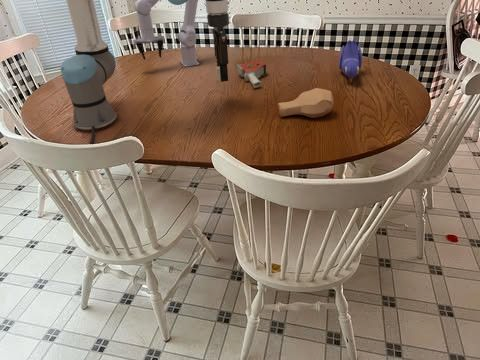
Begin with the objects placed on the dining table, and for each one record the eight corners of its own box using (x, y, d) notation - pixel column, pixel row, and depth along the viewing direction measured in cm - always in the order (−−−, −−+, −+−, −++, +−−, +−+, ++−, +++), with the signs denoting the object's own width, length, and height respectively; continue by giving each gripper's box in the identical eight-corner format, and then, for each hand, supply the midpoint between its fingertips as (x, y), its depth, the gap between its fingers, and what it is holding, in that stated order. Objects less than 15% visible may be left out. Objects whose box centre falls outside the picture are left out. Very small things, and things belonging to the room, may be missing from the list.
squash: (337, 118, 126) (338, 97, 119) (281, 128, 127) (279, 108, 121) (330, 101, 133) (330, 80, 127) (277, 111, 135) (275, 90, 128)
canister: (229, 78, 137) (229, 66, 134) (224, 82, 134) (223, 70, 131) (220, 77, 139) (219, 65, 136) (215, 80, 136) (214, 68, 133)
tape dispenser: (257, 93, 151) (279, 75, 164) (257, 81, 148) (279, 63, 160) (223, 84, 159) (246, 67, 171) (222, 73, 155) (246, 57, 168)
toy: (337, 76, 168) (339, 86, 146) (339, 39, 162) (341, 42, 139) (359, 76, 166) (364, 85, 144) (361, 37, 159) (367, 41, 137)
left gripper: (234, 16, 117) (238, 85, 130) (222, 7, 130) (227, 70, 144) (212, 19, 115) (218, 88, 129) (202, 9, 129) (209, 73, 142)
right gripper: (131, 32, 160) (138, 62, 168) (163, 28, 163) (168, 58, 171) (130, 29, 165) (136, 58, 173) (161, 25, 169) (166, 54, 177)
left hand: (223, 78), depth 136 cm, fingers closed on canister, 4 cm apart
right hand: (152, 58), depth 173 cm, fingers open, 7 cm apart
